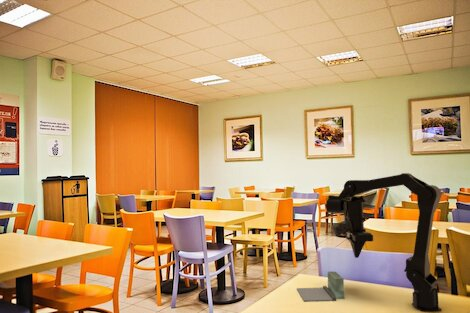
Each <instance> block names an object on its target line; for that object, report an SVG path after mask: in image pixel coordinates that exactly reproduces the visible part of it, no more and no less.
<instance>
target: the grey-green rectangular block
mask: <svg viewBox="0 0 470 313" xmlns="http://www.w3.org/2000/svg"><path fill="white" fill-rule="evenodd" d="M327 288H328V289H329V290H330V291H331V292H332V293H333V295H334V296H335V297H336V300H344V299H345V281H344V277H343V276H341V275H340V273H338V272H337V271H336V270H335V271H327Z"/></svg>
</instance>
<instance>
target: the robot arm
mask: <svg viewBox="0 0 470 313" xmlns="http://www.w3.org/2000/svg"><path fill="white" fill-rule="evenodd" d="M399 186H404V187H405V188H406V189H408V190H409V191H410V192H411V193H413V194H414V195H416V197H417V198H416V199H417V201H416V202H417V208H418V211H419V213H418V219H417V227H416V235H415V242H414V250H413V255H411V256H410V257H408V258H406V259H405V268H404V271H403V272H404V273H405V276H406V279H407V280H408V282H410V283H411V286H412V288H413V291H412V302H411V305H412V306H414V307H415V308H416V309H418V310H419V311H420V312H441V311H442V308H441V307H439V292H438V291H439V290H438V289H437V288H436V287H437V286H438V284H439V280H438V279H437V278H436V276H434V275H433V273H431V263H430V258H429V253H430V252H429V251H430V245H431V239H432V238H431V236H432V232H433V231H432V230H433V224H434V223H433V222H434V216H435V213H436V211H437V209H438V206H439V204H440V201H441V200H442V199H441V198H442V194H443V193H442V191H441V189H440V188H439V187H438V186H436V185H433V184H430V185H429V184H428V183H427V182H425V181H424V180H421V179H419V178H417V177H415V176H414V175H412V173H409V172H405V173H404V172H402V173H401V174H396V175H391V176H385V177H380V178H373V179H349V180H346V182H345V183H344V184H343V189H342V190H341V192H340V194H338V195H335V194H334V195H333V194H331V195H328V198H327V200H326V203H325V209H326V212H327V214H342V215H343V214H345V212H346V216H345V217H344V220H343V221H340V222H337V223H335V224H332V225H331V226H330V227H331V229H332V232H333V234H334V235H335V236H340V235H342V236H344V235H345V234H346V236H345V239H346V240H347V241H349V242H350V246H351V249H352V254H353V256H354V258H359V257H360V255H361V253H362V250H363V248H364V246H365V245H366V242H374V235H373V234H372V233H371V232H369V231H367V229H366V228H365V226H364V224H365V223H364V221H366V217H364V203H369V202H370V201H369V199H368V198H367V197H366V196H365V195H364V194H366V193H367V194H368V193H369V192H371V191H374V190H380V189H386V188H393V187H399ZM355 196H356V197H355ZM357 196H359V197H357Z"/></svg>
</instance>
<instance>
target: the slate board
mask: <svg viewBox="0 0 470 313" xmlns="http://www.w3.org/2000/svg"><path fill="white" fill-rule="evenodd" d="M296 290H297V292H298V294H299V295H300V298H301V299H302V301H303V302H337V299H336V297H335V296H334V295H333V293H332V292H331V291H330V290H329V289H328V286H326V285H322V287H297V288H296Z"/></svg>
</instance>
